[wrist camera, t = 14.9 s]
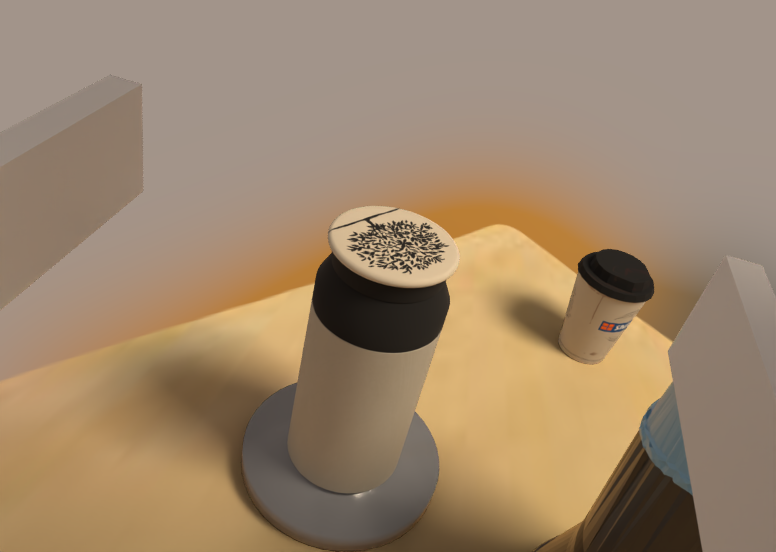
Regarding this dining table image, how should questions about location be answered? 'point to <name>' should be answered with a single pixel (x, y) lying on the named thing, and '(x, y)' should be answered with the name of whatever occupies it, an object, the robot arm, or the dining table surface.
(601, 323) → the coffee cup
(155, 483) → the dining table surface
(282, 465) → the charcoal plate
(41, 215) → the robot arm
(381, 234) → the travel mug
